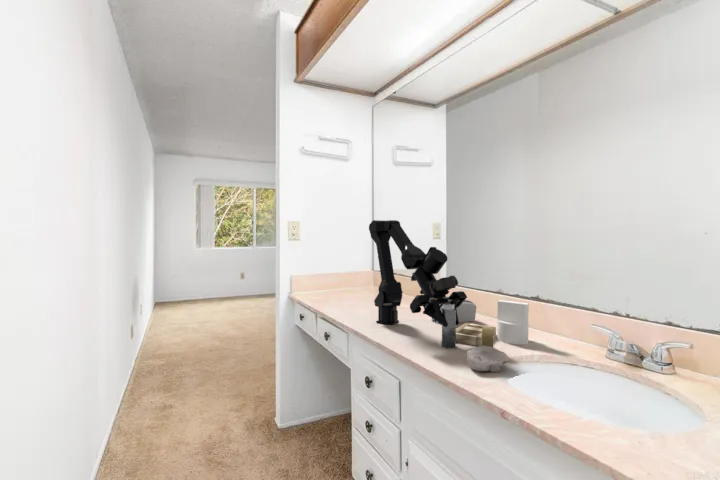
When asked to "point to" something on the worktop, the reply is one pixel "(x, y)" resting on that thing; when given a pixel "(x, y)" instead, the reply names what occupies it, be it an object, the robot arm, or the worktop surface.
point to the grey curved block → (463, 311)
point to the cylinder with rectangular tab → (512, 322)
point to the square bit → (487, 336)
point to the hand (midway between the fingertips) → (452, 325)
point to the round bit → (449, 326)
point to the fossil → (486, 359)
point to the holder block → (471, 334)
